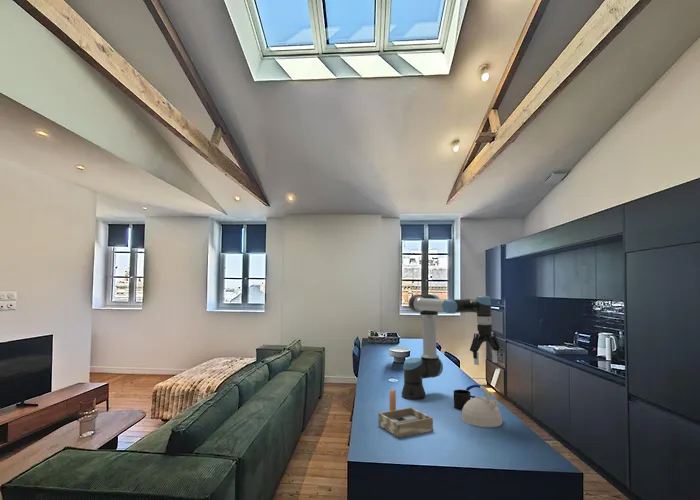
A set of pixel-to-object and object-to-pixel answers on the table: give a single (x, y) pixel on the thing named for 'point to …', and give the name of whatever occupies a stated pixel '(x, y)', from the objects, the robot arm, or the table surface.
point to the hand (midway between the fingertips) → (485, 363)
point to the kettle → (481, 410)
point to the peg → (392, 399)
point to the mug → (461, 398)
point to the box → (405, 422)
